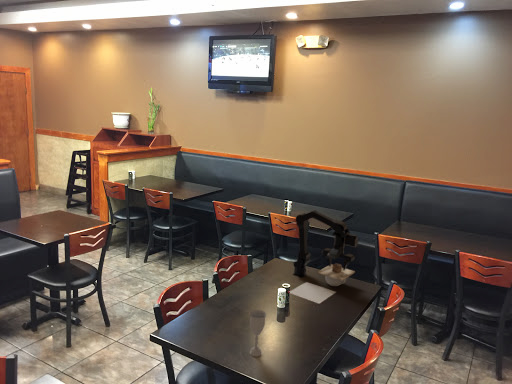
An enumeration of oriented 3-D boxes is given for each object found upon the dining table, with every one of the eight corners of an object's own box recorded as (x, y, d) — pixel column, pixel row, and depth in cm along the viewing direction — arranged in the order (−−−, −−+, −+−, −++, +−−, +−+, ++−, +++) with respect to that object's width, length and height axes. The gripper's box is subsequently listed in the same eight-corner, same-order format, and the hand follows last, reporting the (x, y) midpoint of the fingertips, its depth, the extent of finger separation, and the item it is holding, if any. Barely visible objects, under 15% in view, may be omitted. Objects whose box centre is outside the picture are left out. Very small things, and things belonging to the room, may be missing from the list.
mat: (288, 292, 234) (288, 292, 234) (306, 282, 250) (306, 281, 249) (319, 304, 222) (319, 303, 222) (336, 292, 238) (336, 292, 238)
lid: (318, 272, 245) (318, 264, 244) (330, 265, 257) (331, 258, 256) (342, 280, 235) (343, 272, 234) (354, 272, 248) (355, 265, 247)
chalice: (263, 348, 178) (266, 310, 175) (264, 357, 171) (267, 318, 168) (246, 348, 178) (248, 309, 174) (247, 357, 171) (249, 317, 168)
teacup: (321, 281, 252) (322, 269, 250) (335, 279, 256) (337, 267, 255) (334, 291, 239) (335, 278, 238) (349, 288, 244) (351, 276, 242)
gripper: (318, 242, 242) (316, 267, 245) (348, 250, 231) (345, 276, 234) (327, 238, 250) (325, 262, 254) (356, 245, 240) (353, 271, 243)
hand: (336, 268), depth 246 cm, fingers open, 9 cm apart
